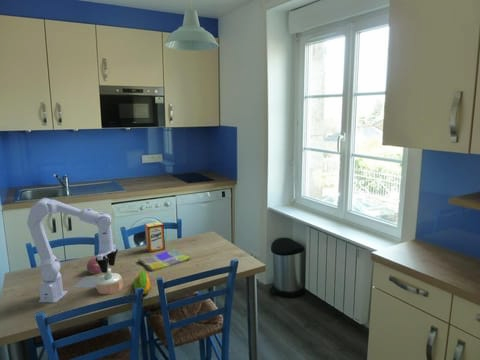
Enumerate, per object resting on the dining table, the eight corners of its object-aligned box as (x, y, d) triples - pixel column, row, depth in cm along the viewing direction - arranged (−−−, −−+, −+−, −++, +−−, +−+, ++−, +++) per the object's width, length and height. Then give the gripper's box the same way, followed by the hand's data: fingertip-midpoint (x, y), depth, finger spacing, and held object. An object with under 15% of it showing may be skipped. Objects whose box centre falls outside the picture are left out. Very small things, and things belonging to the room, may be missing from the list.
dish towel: (191, 261, 198) (191, 256, 197) (149, 273, 184) (148, 268, 183) (176, 251, 212) (176, 247, 211) (136, 262, 197) (136, 257, 197)
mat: (97, 288, 167) (97, 287, 167) (72, 288, 168) (72, 287, 168) (108, 277, 179) (108, 276, 178) (85, 276, 179) (85, 276, 179)
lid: (112, 286, 159) (112, 275, 158) (90, 284, 161) (89, 273, 160) (125, 275, 170) (124, 265, 169) (103, 273, 172) (102, 263, 171)
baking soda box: (149, 252, 210) (147, 226, 207) (146, 249, 216) (144, 223, 213) (165, 249, 214) (163, 223, 211) (162, 246, 220) (160, 221, 217)
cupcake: (82, 274, 182) (91, 273, 174) (84, 257, 185) (93, 256, 176) (99, 274, 188) (109, 273, 180) (101, 257, 190) (110, 256, 182)
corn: (133, 283, 155) (133, 265, 174) (133, 299, 156) (133, 280, 175) (151, 281, 157) (149, 264, 176) (151, 298, 158) (148, 278, 177)
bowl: (116, 294, 161) (115, 285, 160) (93, 294, 162) (92, 285, 161) (125, 283, 171) (124, 275, 170) (104, 283, 172) (103, 274, 171)
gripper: (107, 246, 155) (109, 275, 157) (120, 235, 169) (123, 262, 171) (91, 246, 155) (94, 275, 158) (106, 235, 169) (108, 262, 172)
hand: (108, 268), depth 165 cm, fingers open, 7 cm apart
